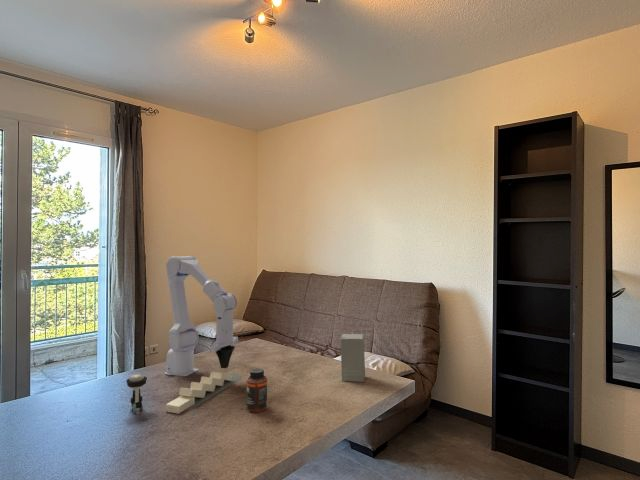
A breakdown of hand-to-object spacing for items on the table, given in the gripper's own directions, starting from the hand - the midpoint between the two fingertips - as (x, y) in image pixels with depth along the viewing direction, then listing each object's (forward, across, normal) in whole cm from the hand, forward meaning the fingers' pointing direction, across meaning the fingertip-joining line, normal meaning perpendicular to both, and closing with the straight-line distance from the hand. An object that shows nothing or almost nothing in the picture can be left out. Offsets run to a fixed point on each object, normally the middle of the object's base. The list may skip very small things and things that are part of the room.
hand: (224, 367), depth 128 cm
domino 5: (+4, +1, 0) cm, 4 cm away
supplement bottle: (+5, -15, -21) cm, 26 cm away
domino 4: (+4, -4, 0) cm, 5 cm away
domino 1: (+4, -19, 0) cm, 19 cm away
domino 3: (+4, -9, 0) cm, 10 cm away
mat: (+5, -8, 0) cm, 9 cm away
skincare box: (+5, +18, -42) cm, 46 cm away
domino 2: (+4, -14, 0) cm, 14 cm away
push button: (+5, -28, +11) cm, 30 cm away
